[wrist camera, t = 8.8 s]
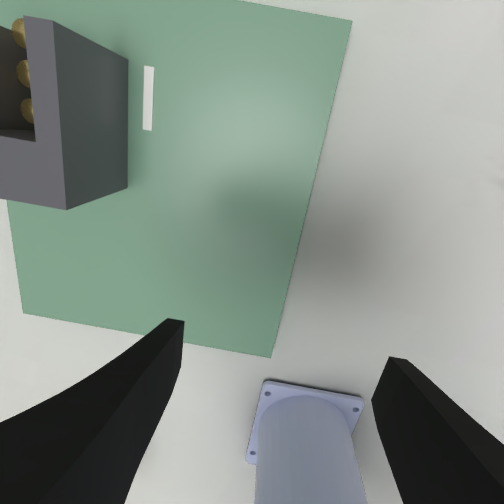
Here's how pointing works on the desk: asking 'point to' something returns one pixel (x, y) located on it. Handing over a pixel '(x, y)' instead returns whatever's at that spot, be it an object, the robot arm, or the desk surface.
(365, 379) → the desk surface
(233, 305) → the circuit board
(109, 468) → the robot arm
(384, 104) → the desk surface
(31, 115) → the pin header
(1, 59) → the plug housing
